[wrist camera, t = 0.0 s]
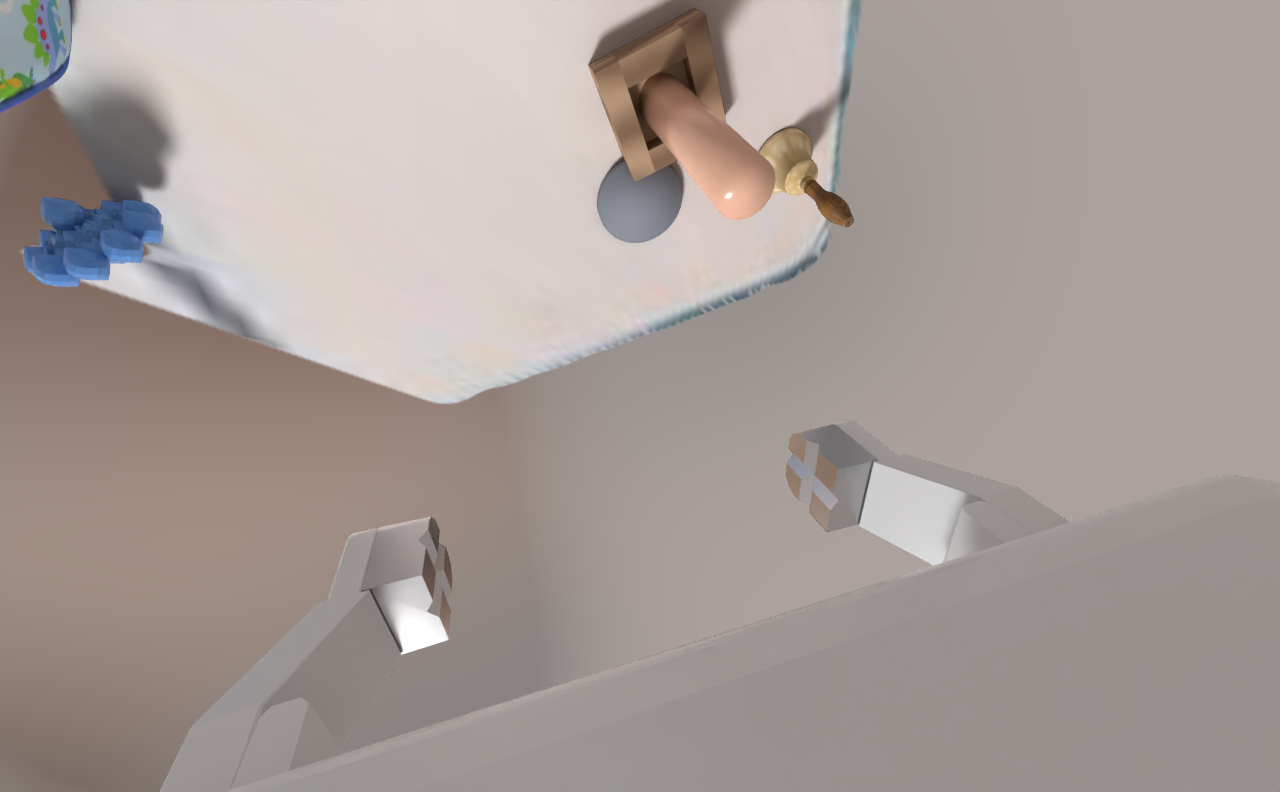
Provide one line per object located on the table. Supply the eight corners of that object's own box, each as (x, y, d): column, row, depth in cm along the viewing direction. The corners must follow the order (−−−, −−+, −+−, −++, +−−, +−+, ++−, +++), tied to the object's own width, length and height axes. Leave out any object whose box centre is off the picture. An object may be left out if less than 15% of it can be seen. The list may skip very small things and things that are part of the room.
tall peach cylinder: (660, 61, 50) (751, 142, 36) (692, 95, 54) (787, 181, 40) (629, 105, 52) (703, 198, 39) (661, 135, 56) (740, 231, 42)
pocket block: (588, 65, 50) (594, 73, 48) (694, 8, 49) (705, 14, 47) (628, 171, 59) (635, 182, 57) (718, 125, 58) (728, 134, 56)
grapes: (138, 146, 44) (78, 207, 36) (203, 212, 49) (163, 279, 42) (12, 187, 44) (-75, 258, 36) (92, 250, 49) (30, 324, 41)
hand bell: (819, 161, 65) (891, 218, 55) (768, 204, 68) (828, 266, 58) (797, 112, 60) (873, 166, 49) (742, 161, 62) (804, 222, 52)
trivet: (635, 135, 56) (638, 138, 55) (696, 188, 63) (698, 192, 62) (579, 211, 61) (581, 214, 60) (641, 252, 68) (643, 256, 67)
